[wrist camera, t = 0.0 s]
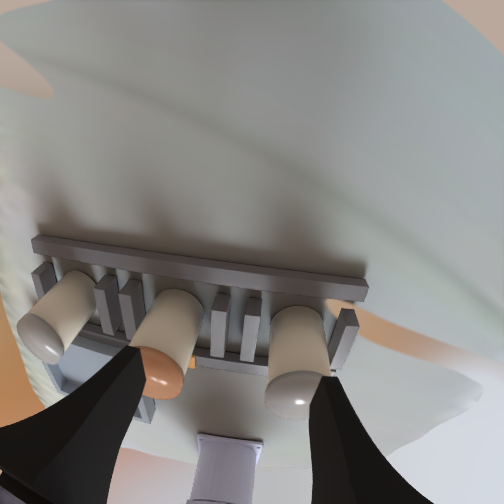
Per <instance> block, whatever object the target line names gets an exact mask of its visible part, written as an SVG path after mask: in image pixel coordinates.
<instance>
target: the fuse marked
mask: <svg viewBox="0 0 504 504" xmlns="http://www.w3.org/2000/svg"><path fill="white" fill-rule="evenodd" d="M203 319H204V310H203V307H202V305H201V304H200V302H199V301H198V300H197V299H196V298H195V297H194V296H193V295H191V294H190V293H188V292H186V291H183V290H179V289H168V290H165V291H162V292H161V293H160V294H158V296H157V297H156V299H155V300H154V302H153V304H152V306H151V307H150V309H149V311H148V312H147V314H146V316H145V318H144V319H143V321H142V323H141V325H140V326H139V328H138V330H137V332H136V333H135V335H134V337H133V339H132V340H131V342H130V344H129V346H132V347H136V348H140V350H141V355H142V361H143V366H144V370H145V375H146V384H145V387H144V390H143V394H142V395H145V396H147V397H150V398H154V399H160V400H168V399H172V398H175V397H177V396H178V395H179V394H180V392H181V389H182V386H183V383H184V377H185V374H186V371H187V368H188V365H189V362H190V359H191V355H192V352H193V349H194V346H195V343H196V340H197V337H198V334H199V331H200V328H201V325H202V323H203Z"/></svg>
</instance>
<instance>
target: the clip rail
mask: <svg viewBox="0 0 504 504" xmlns="http://www.w3.org/2000/svg"><path fill="white" fill-rule="evenodd" d="M31 242H32V247H33V252H34V253H37V254H42V255H47V256H52V257H57V258H62V259H67V260H73V261H78V262H83V263H89V264H94V265H99V266H105V267H111V268H116V269H122V270H128V271H134V272H140V273H146V274H152V275H158V276H164V277H171V278H177V279H184V280H190V281H197V282H204V283H211V284H218V285H225V286H232V287H239V288H247V289H254V290H262V291H270V292H278V293H286V294H295V295H303V296H312V297H321V298H330V299H340V300H350V301H360V302H364V300H365V297H366V295H367V292H368V289H369V286H368V284H367V282H366V279H358V278H349V277H341V276H333V275H324V274H316V273H308V272H300V271H292V270H284V269H276V268H269V267H261V266H253V265H245V264H238V263H230V262H223V261H215V260H208V259H200V258H193V257H186V256H179V255H171V254H164V253H157V252H150V251H143V250H136V249H129V248H122V247H115V246H108V245H102V244H95V243H88V242H82V241H75V240H68V239H62V238H55V237H49V236H42V235H37V236H36V237H34V238H33V239H31ZM31 274H32V278H33V282H34V285H35V289H36V292H37V295H38V299H39V300H40V299H41V298H42V297H43V296H44V295H45V294H46V293H47V292H48V291H49V290H50V289H51V288H52V287H53V286H54V285H55V284H56V279H55V274H54V270H53V266H52V264H51V263H46V262H44V263H43V264H41V265H40V266H39V267H38V268H37V269H36V270H34V271H33V272H32V273H31ZM93 290H94V295H95V300H96V304H97V309H98V313H99V317H100V321H101V325H102V327H101V326H97V325H93V324H90V323H86V324H85V325H84V326H83V328H82V329H81V330H80V332H79V333H78V334H77V336H79V337H82V338H86V339H89V340H92V341H96V342H99V343H103V344H106V345H110V346H114V347H117V348H121V349H122V348H124V347H125V346H126V345H128V346H129V344H130V342H131V340H132V339H133V337H134V335H135V333H136V332H137V330H138V328H139V326H140V325H141V323H142V321H143V319H144V318H145V310H144V301H143V293H142V283H141V281H138V280H132V279H129V280H128V282H127V283H126V284H125V285H124V287H123V288H122V289H121V291H120V292H119V293H118V287H117V280H116V276H110V275H104V277H103V278H102V279H101V280H100V281H99V282H98V283H97V284H96V285H95V287H94V288H93ZM230 301H231V295H226V294H219V293H217V295H216V298H215V301H214V304H213V307H212V312H211V350H209V349H203V348H197V347H194V349H193V352H192V355H191V359H190V362H189V365H188V368H193V369H195V367H196V366H201V367H206V368H212V369H219V370H225V371H232V372H239V373H247V374H255V375H263V376H267V374H268V358H266V357H258V356H254V354H255V348H256V342H257V335H258V329H259V322H260V316H261V305H262V299H256V298H248V300H247V306H246V312H245V319H244V328H243V337H242V345H241V354H235V353H228V352H225V350H226V345H227V340H228V327H229V314H230ZM122 322H123V323H124V328H125V332H120V331H117V330H118V328H119V327H120V325H121V324H122ZM358 330H359V323H358V320H357V317H356V314H355V311H354V309H344V308H342V309H341V311H340V314H339V317H338V320H337V323H336V326H335V329H334V332H333V335H332V338H331V340H330V343H329V346H328V349H327V350H328V356H329V363H330V370H331V376H335V373H336V369H338V370H342V368H343V365H344V363H345V361H346V358H347V356H348V354H349V351H350V349H351V347H352V344H353V342H354V340H355V337H356V335H357V332H358Z"/></svg>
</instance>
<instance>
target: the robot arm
mask: <svg viewBox="0 0 504 504" xmlns="http://www.w3.org/2000/svg"><path fill="white" fill-rule="evenodd" d="M145 384H146V375H145V370H144V366H143V361H142V355H141V350H140V348H136V347H132V346H128V345H126V346H125V347H124V348H122V349H121V350H120V351H119V352H118V353H117V354H116V355H115V356H114V357H113V358H112V359H111V360H110V361H109V362H107V363H106V364H105V365H104V366H103V367H102V368H101V369H100V370H99V371H97V372H96V373H95V374H94V375H93V376H92V377H91V378H89V379H88V380H87V381H86V382H84V383H83V384H82V385H81V386H79V387H78V388H77V389H75V390H74V391H73V392H71V393H70V394H69V395H67V396H66V397H64V398H63V399H61V400H60V401H58V402H57V403H55V404H53V405H52V406H50V407H48V408H46V409H45V410H43V411H41V412H39V413H37V414H35V415H33V416H31V417H28V418H26V419H24V420H21V421H19V422H16V423H14V424H11V425H7V426H4V427H1V428H0V469H1V470H2V473H1V475H0V504H106V503H107V498H108V492H109V488H110V483H111V478H112V474H113V470H114V466H115V463H116V459H117V455H118V452H119V449H120V446H121V443H122V441H123V439H124V436H125V434H126V432H127V430H128V427H129V425H130V423H131V421H132V418H133V416H134V414H135V412H136V409H137V407H138V405H139V403H140V400H141V397H142V394H143V390H144V387H145ZM309 436H310V448H311V460H312V473H313V485H312V502H311V504H434V503H432V502H431V501H430V500H428V499H427V498H426V497H424V496H423V495H422V494H420V493H419V492H418V491H417V490H416V489H414V488H413V487H412V486H411V485H410V484H409V483H408V482H407V481H406V480H405V479H404V478H403V477H402V476H401V475H400V474H399V473H398V472H397V471H396V470H395V469H394V468H393V467H392V466H391V464H390V463H389V462H388V461H387V460H386V458H385V457H384V456H383V454H382V453H381V452H380V451H379V449H378V448H377V446H376V445H375V444H374V442H373V441H372V439H371V438H370V436H369V435H368V433H367V431H366V430H365V428H364V427H363V425H362V423H361V421H360V420H359V418H358V416H357V414H356V413H355V411H354V409H353V407H352V405H351V403H350V401H349V399H348V397H347V395H346V393H345V391H344V389H343V387H342V385H341V383H340V381H339V379H338V377H334V376H322V377H321V380H320V382H319V384H318V387H317V389H316V391H315V394H314V396H313V398H312V400H311V403H310V405H309ZM197 444H198V454H199V459H198V464H197V469H196V474H195V478H194V483H193V487H192V492H191V497H190V500H187V503H186V504H252V498H253V488H254V477H255V469H256V466H257V463H258V460H259V457H260V454H261V451H262V448H263V443H262V442H256V441H247V440H239V439H231V438H225V437H218V436H212V435H206V434H197Z"/></svg>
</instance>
